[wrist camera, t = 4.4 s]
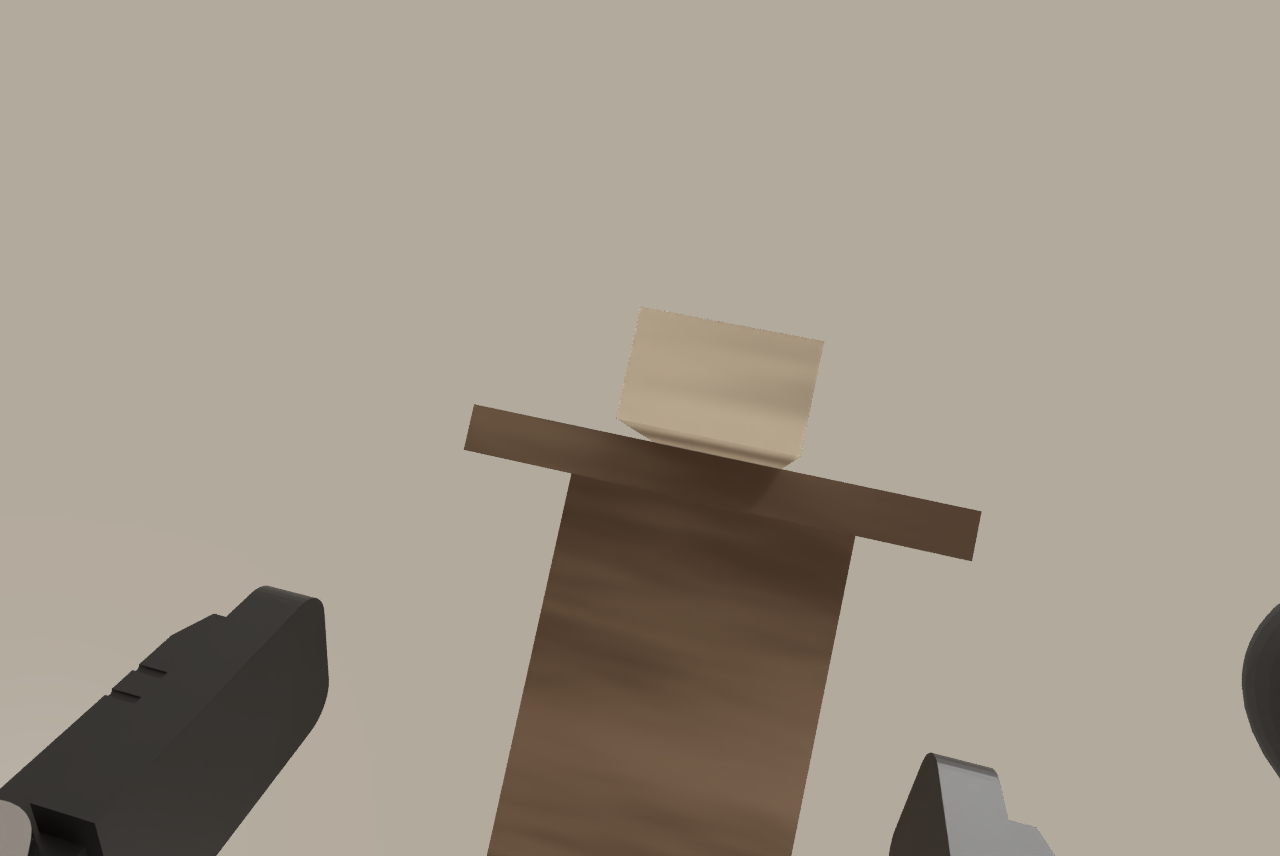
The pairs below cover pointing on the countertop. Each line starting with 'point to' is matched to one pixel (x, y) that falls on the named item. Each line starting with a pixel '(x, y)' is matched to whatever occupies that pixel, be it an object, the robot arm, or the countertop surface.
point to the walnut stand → (682, 642)
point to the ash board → (719, 387)
